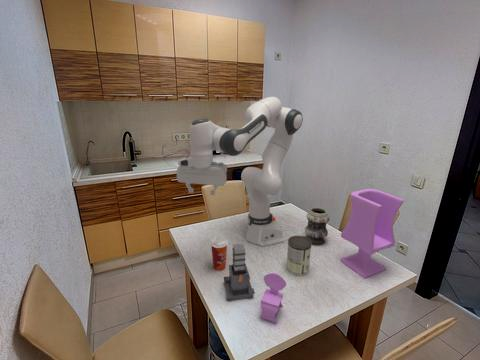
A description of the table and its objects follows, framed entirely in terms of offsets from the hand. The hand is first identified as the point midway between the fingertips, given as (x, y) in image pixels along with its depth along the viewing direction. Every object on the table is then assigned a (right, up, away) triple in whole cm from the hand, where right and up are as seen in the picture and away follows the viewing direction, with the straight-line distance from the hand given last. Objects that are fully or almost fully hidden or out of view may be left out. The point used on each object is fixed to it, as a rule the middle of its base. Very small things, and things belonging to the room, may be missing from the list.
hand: (202, 193), depth 105 cm
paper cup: (+6, -35, +12) cm, 37 cm away
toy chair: (+27, -43, -12) cm, 52 cm away
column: (+15, -37, -2) cm, 40 cm away
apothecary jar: (+57, -28, +35) cm, 72 cm away
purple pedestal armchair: (+73, -35, +14) cm, 82 cm away
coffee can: (+42, -35, +12) cm, 56 cm away
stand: (+15, -39, -2) cm, 42 cm away
